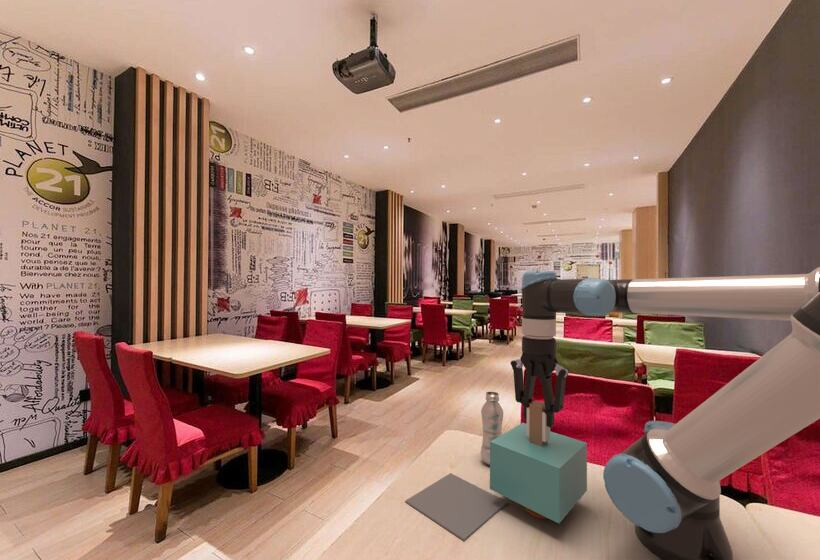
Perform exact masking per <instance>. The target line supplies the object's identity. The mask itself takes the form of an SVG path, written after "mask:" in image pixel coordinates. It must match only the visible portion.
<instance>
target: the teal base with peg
mask: <svg viewBox="0 0 820 560" xmlns="http://www.w3.org/2000/svg"><path fill="white" fill-rule="evenodd" d="M544 411H545V403H544V401H538V400H534V401H532V403H530V405H529V436H527V423H525V422H521V423H519V424H518V425H515V426H514V427H513V428H511V429H509V430H508V431H506V432H504V433H503V434H502V433H501V436H499V437H497V438H496V439H494V440H492V441H490V465H489V489H490V490H491V491H493V492H495V493H497V494H499V495H501V496H503V497H505V498H507V499H509V500H510V501H512V502H515V503H517V504H519V505H521V506H522V505H523V506H525V507H527V508H529V509H531V510H533V511H535V512H537V513H539V514H541V515H543V516H545V517H547V518H549V519H548V520H551V521H553V522H555V523H557V524H561V523H562V521H563V520H564V519H565V518H566V516H567V515H568V514H569V513H570V511H571V510H572V509H573V508H574V507H575V505H576V504H577V503H578V502H579V501H580V499H581V498H582V497H583V496H584V494H585V493H586V492H587V491H588V443H587V442H585V441H581V440H580V439H576V438H572V437H569V436H566V435H563V434H559V433H556V432H553V431H551V430H550V439H549V440H547V441H546V442H544V441H542V412H544ZM547 518H546V519H547Z"/></svg>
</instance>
